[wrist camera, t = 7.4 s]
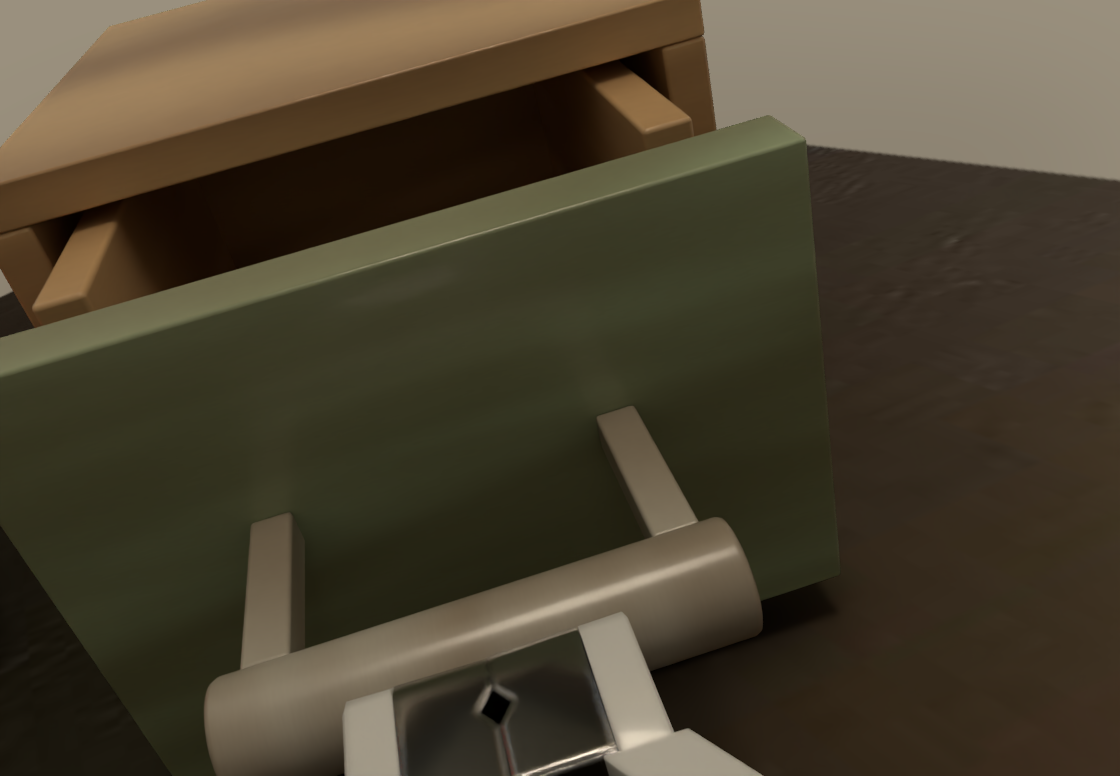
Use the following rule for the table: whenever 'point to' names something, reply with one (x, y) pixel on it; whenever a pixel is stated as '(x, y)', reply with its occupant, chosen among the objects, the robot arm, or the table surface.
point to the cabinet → (299, 91)
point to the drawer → (423, 411)
